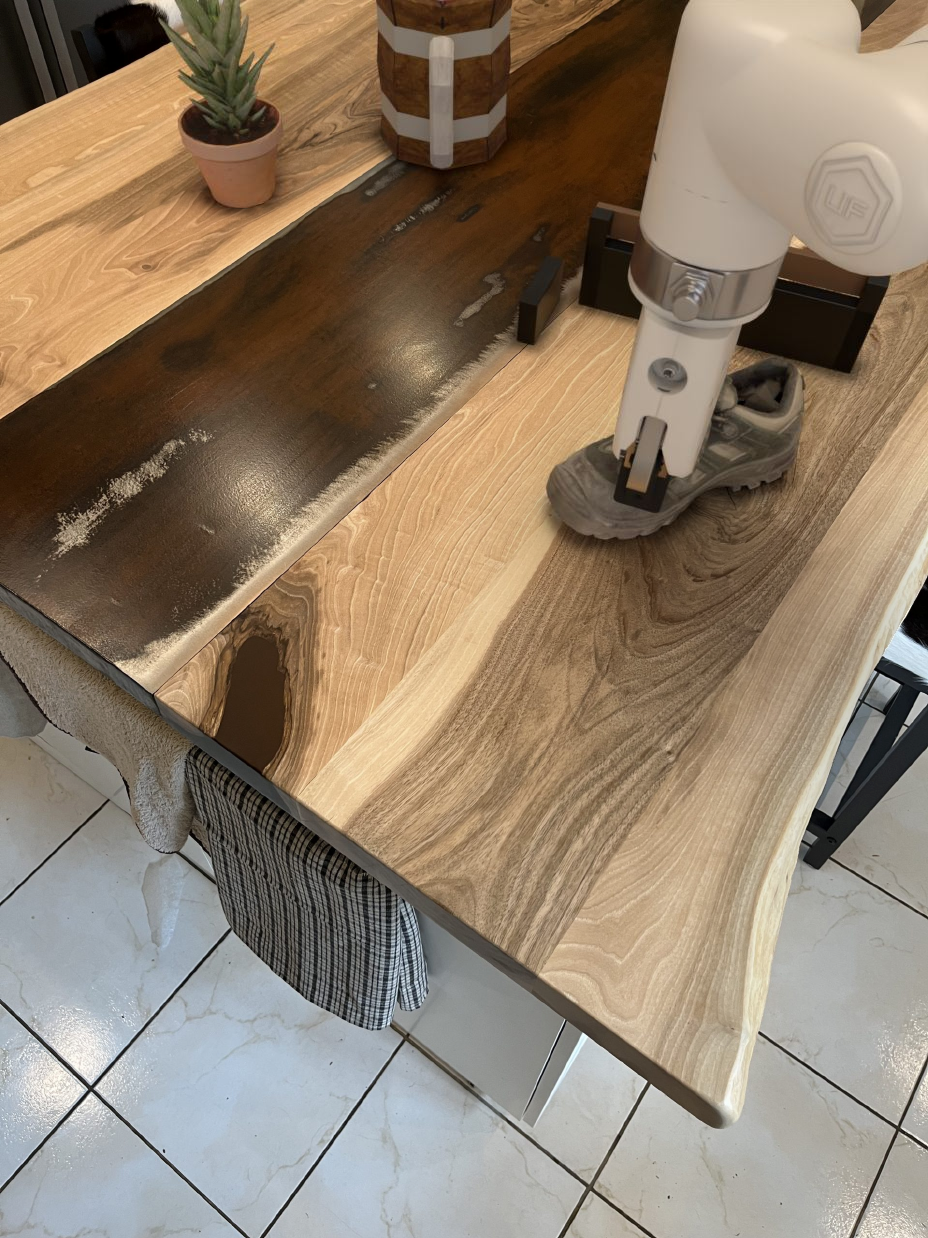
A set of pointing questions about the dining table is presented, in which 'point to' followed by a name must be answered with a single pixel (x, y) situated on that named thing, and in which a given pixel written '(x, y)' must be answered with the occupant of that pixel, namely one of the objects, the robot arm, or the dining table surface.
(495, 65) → the mug
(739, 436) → the hiking shoe
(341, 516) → the dining table surface
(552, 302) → the shoe rack
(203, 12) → the potted plant
